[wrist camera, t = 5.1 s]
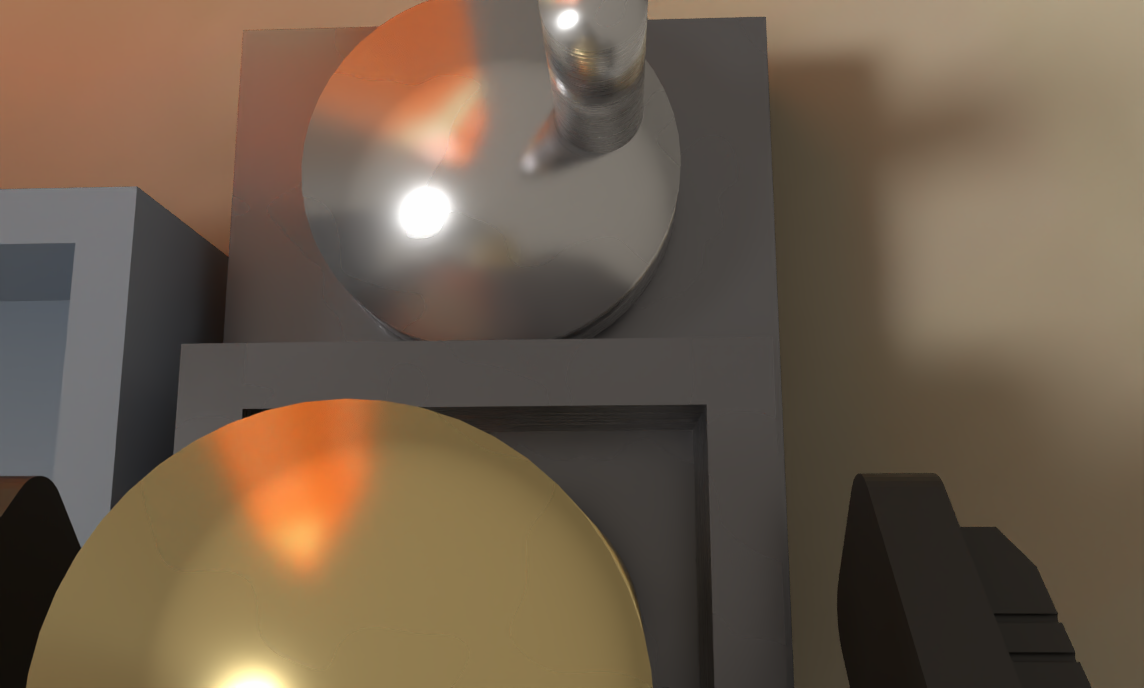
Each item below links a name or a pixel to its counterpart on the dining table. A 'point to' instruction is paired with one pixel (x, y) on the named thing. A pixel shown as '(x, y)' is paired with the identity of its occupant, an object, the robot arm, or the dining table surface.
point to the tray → (97, 337)
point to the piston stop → (345, 566)
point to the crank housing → (535, 278)
